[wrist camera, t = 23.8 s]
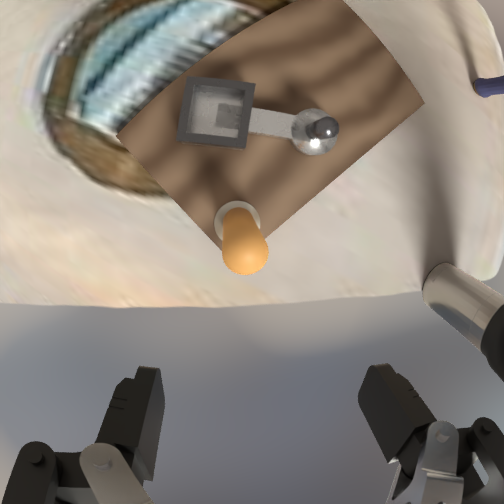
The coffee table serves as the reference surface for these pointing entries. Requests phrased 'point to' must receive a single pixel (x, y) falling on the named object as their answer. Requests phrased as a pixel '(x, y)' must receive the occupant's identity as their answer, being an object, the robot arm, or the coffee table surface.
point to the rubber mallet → (489, 86)
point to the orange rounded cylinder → (243, 242)
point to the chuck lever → (246, 119)
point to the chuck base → (279, 100)
